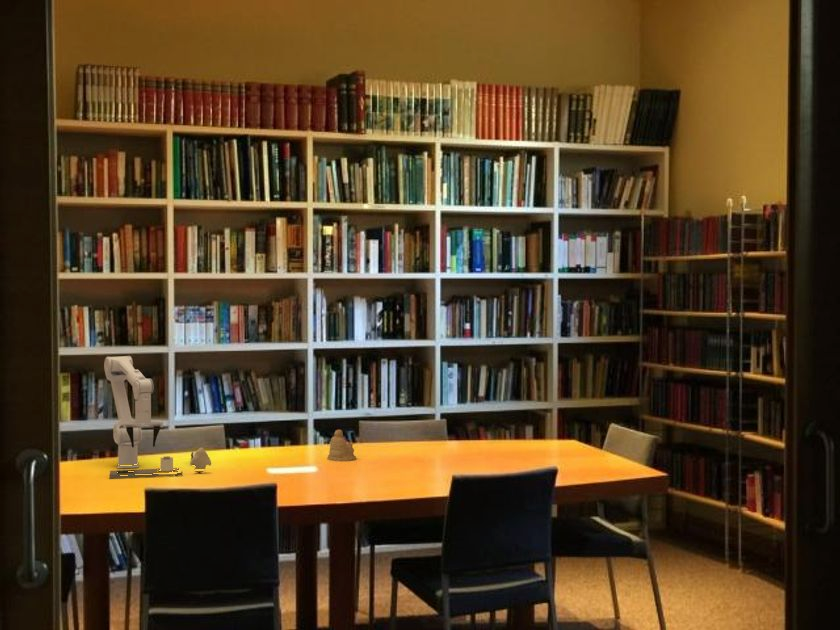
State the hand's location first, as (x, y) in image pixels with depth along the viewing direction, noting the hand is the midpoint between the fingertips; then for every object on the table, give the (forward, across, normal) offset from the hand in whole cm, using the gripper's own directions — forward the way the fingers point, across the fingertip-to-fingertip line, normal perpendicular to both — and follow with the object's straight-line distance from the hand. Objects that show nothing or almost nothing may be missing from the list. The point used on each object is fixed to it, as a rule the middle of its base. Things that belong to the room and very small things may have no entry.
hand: (143, 446), depth 404 cm
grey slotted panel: (+10, +1, -6) cm, 12 cm away
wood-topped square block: (+9, +8, -6) cm, 14 cm away
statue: (+10, +78, +13) cm, 80 cm away
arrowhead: (+10, +21, -6) cm, 24 cm away
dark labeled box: (+11, +19, +14) cm, 26 cm away
